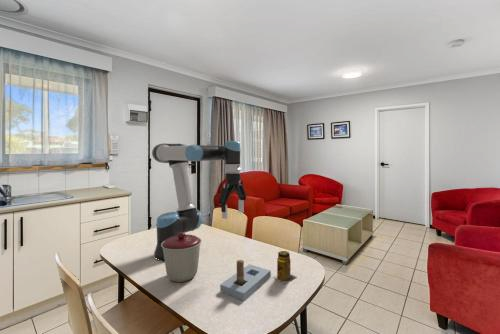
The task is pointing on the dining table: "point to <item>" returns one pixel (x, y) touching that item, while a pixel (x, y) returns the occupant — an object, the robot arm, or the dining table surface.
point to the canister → (181, 256)
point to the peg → (240, 272)
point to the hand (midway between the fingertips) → (233, 215)
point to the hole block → (246, 282)
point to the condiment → (284, 267)
